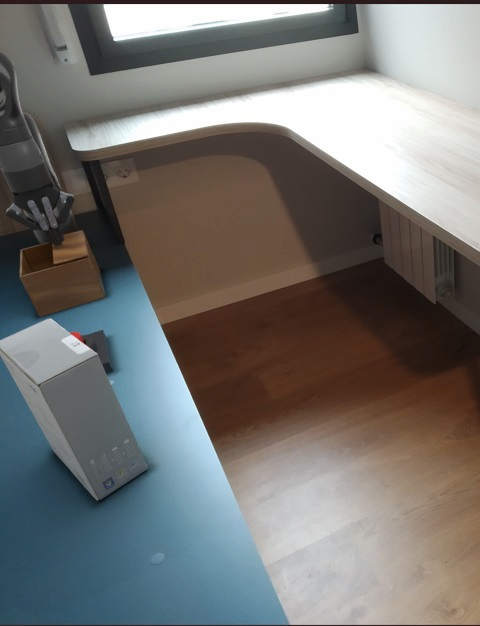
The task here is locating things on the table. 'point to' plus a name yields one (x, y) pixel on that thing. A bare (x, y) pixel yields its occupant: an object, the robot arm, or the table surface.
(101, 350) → the button block
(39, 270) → the carton
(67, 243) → the flap
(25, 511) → the table surface
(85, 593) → the table surface
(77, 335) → the button
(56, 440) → the hard drive box
